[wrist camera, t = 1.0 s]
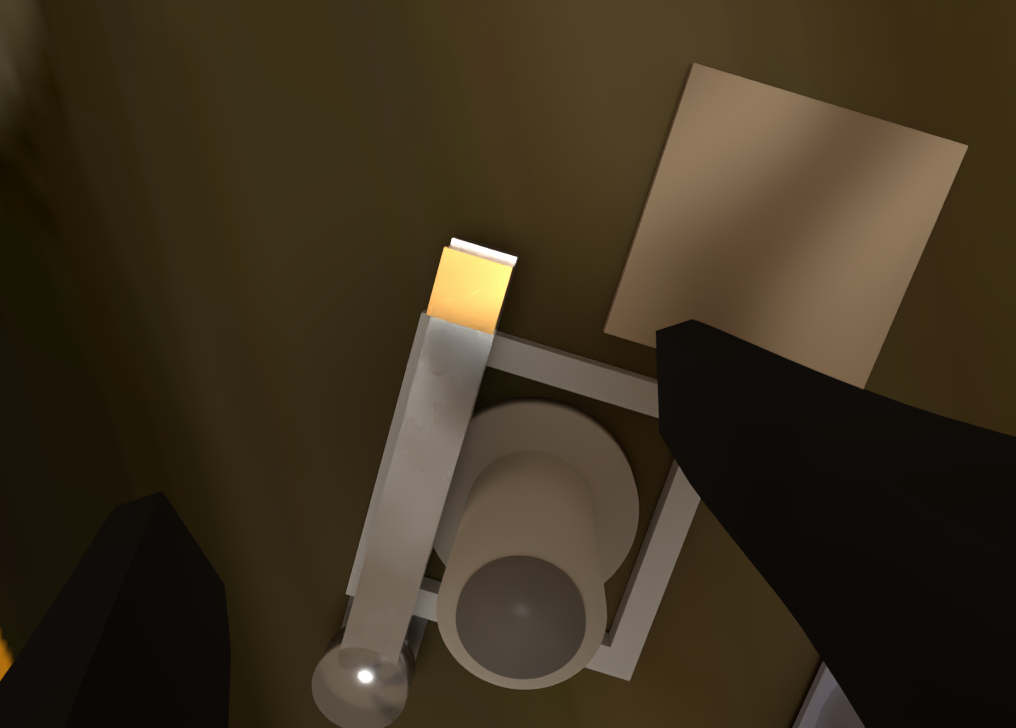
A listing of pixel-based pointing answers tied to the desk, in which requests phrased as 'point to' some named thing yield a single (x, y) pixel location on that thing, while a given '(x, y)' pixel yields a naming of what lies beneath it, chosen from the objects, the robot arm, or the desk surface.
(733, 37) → the desk surface
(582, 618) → the plug
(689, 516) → the socket
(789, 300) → the coaster
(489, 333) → the clip
